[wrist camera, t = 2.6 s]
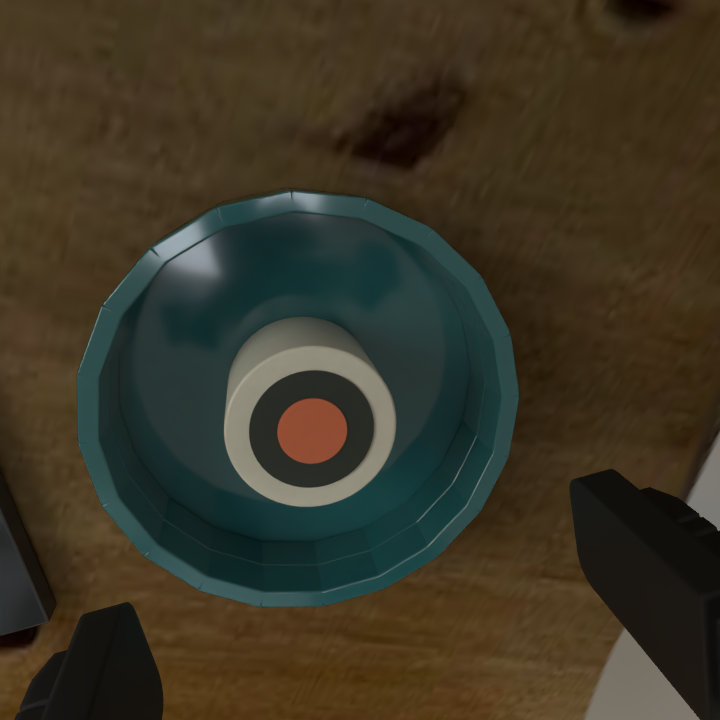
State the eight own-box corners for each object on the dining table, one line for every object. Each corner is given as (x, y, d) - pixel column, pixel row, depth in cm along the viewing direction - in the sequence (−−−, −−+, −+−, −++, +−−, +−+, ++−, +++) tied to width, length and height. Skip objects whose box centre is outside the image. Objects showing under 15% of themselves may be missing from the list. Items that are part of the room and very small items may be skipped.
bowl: (168, 589, 24) (156, 655, 21) (45, 240, 20) (5, 253, 17) (503, 496, 26) (541, 545, 22) (449, 150, 22) (485, 146, 18)
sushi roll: (248, 469, 23) (249, 529, 19) (210, 335, 22) (202, 371, 18) (384, 433, 24) (412, 485, 20) (356, 300, 22) (379, 328, 18)
